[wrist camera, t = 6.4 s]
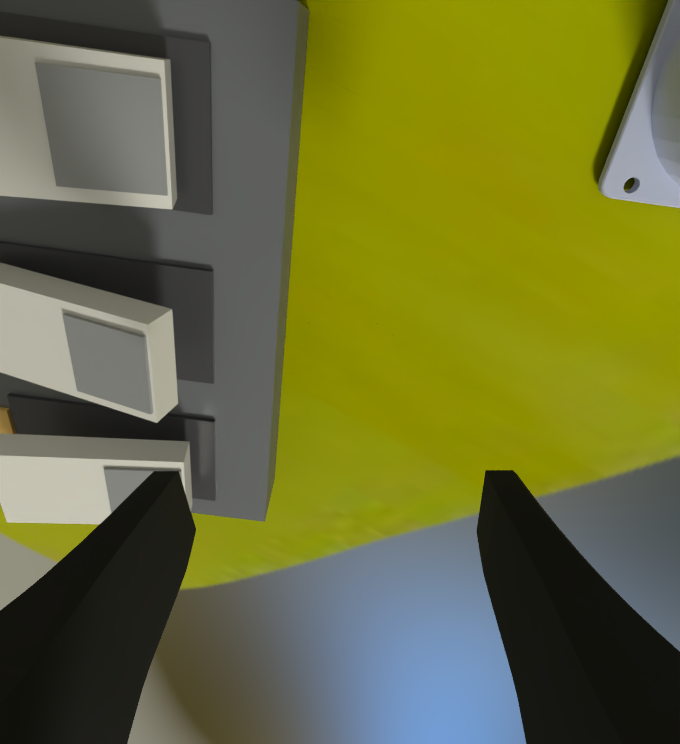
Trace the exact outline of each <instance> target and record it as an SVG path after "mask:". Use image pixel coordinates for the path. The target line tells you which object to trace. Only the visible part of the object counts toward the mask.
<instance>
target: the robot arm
mask: <svg viewBox="0 0 680 744" xmlns="http://www.w3.org/2000/svg"><path fill="white" fill-rule="evenodd" d="M633 177H634V179H635V182H634V185H633V186H632V188H631V189H629V190H628V191H624V189H623V188H624V184H625V182H626V181H627V180H628V179H630V178H633ZM598 188H599V191H600V192H601V193H602V194H603V195H605V196H607V197H609V198H613V199H620V200H627V201H634V202H641V203H648V204H655V205H662V206H669V207H676V208H680V0H668V3H667V5H666V8H665V10H664V13H663V15H662V18H661V21H660V23H659V26H658V28H657V31H656V34H655V36H654V39H653V41H652V44H651V46H650V49H649V52H648V54H647V57H646V59H645V62H644V65H643V67H642V70H641V72H640V75H639V78H638V80H637V83H636V85H635V88H634V90H633V93H632V96H631V98H630V101H629V103H628V106H627V109H626V111H625V114H624V116H623V119H622V121H621V124H620V127H619V129H618V132H617V134H616V137H615V140H614V142H613V145H612V147H611V150H610V153H609V155H608V158H607V160H606V163H605V165H604V168H603V171H602V173H601V176H600V178H599V183H598ZM195 532H196V528H195V524H194V521H193V518H192V514H191V511H190V508H189V504H188V501H187V497H186V494H185V491H184V487H183V484H182V480H181V477H180V474H179V471H154V472H153V473H152V474H150V475H149V476H148V477H147V478H146V479H145V480H144V481H143V482H142V483H141V484H140V485H139V486H138V487H137V488H136V489H135V490H134V491H133V492H132V493H131V494H130V495H129V496H128V497H127V498H126V499H125V500H124V501H123V502H122V503H121V504H120V505H119V506H118V507H117V508H116V509H115V510H114V511H113V512H112V513H111V514H110V515H109V516H108V517H107V518H106V519H105V520H104V521H103V522H102V523H101V524H100V525H99V526H98V527H97V528H96V529H94V530H93V531H92V532H91V533H90V534H89V535H88V536H87V537H86V538H85V539H84V540H83V541H82V542H81V543H80V544H79V545H78V546H76V547H75V548H74V549H73V550H72V551H71V552H70V553H69V554H68V555H66V556H65V557H64V558H63V559H62V560H61V561H60V562H59V563H57V564H56V565H55V566H54V567H53V568H52V569H51V570H50V571H48V572H47V573H46V574H45V575H44V576H43V577H42V578H40V579H39V580H38V581H37V582H36V583H35V584H33V585H32V586H31V587H30V588H28V589H27V590H26V591H25V592H24V593H22V594H21V595H20V596H19V597H17V598H16V599H15V600H13V601H12V602H11V603H10V604H8V605H7V606H6V607H4V608H3V609H2V610H1V611H0V744H127V742H128V738H129V734H130V731H131V727H132V724H133V720H134V716H135V713H136V709H137V706H138V702H139V699H140V695H141V691H142V688H143V685H144V682H145V679H146V676H147V673H148V670H149V667H150V665H151V662H152V659H153V657H154V654H155V651H156V649H157V646H158V644H159V641H160V639H161V636H162V633H163V630H164V628H165V625H166V623H167V620H168V617H169V615H170V612H171V610H172V607H173V604H174V602H175V599H176V597H177V594H178V591H179V589H180V586H181V583H182V580H183V578H184V575H185V572H186V569H187V565H188V561H189V557H190V553H191V549H192V545H193V541H194V536H195ZM477 537H478V543H479V549H480V556H481V562H482V567H483V573H484V577H485V581H486V585H487V588H488V592H489V595H490V598H491V602H492V606H493V610H494V613H495V616H496V620H497V623H498V627H499V631H500V634H501V638H502V641H503V644H504V648H505V651H506V655H507V658H508V662H509V666H510V669H511V673H512V677H513V681H514V685H515V689H516V693H517V697H518V702H519V707H520V712H521V718H522V723H523V728H524V733H525V738H526V743H527V744H680V652H679V651H678V650H677V649H676V648H675V647H674V646H673V645H672V644H670V643H669V642H668V641H667V640H666V639H665V638H664V637H663V636H662V635H660V634H659V633H658V632H657V631H656V630H655V629H654V628H653V627H652V626H651V625H650V624H649V623H647V622H646V621H645V620H644V619H643V618H642V617H641V616H640V615H639V614H638V613H637V612H636V611H635V610H633V608H632V607H630V605H628V603H627V602H626V601H625V600H623V598H622V597H621V596H620V595H619V594H618V593H617V592H616V591H615V590H613V588H612V587H611V586H610V585H609V584H608V583H607V582H606V581H605V580H604V579H603V578H602V577H601V576H600V575H599V573H598V572H597V571H596V570H595V569H594V568H593V567H592V566H591V565H590V564H589V563H588V562H587V560H586V559H585V558H584V557H583V556H582V555H581V554H580V553H579V551H578V550H577V549H576V548H575V547H574V546H573V545H572V543H571V542H570V541H569V540H568V539H567V538H566V536H565V535H564V534H563V533H562V532H561V530H559V528H558V527H557V526H556V524H555V523H554V522H553V521H552V519H551V518H550V517H549V516H548V514H547V513H546V512H545V511H544V509H543V508H542V507H541V506H540V505H539V503H538V502H537V500H536V499H535V498H534V496H533V495H532V494H531V493H530V491H529V490H528V489H527V487H526V486H525V485H524V483H523V482H522V481H521V479H520V478H519V476H518V475H517V474H516V473H515V472H514V471H513V470H486V472H485V478H484V485H483V492H482V499H481V505H480V512H479V519H478V526H477Z"/></svg>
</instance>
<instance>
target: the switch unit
mask: <svg viewBox="0 0 680 744" xmlns="http://www.w3.org/2000/svg"><path fill="white" fill-rule="evenodd" d="M308 21H309V10H308V9H307V8H306V7H304V6H303V5H302V4H301V3H300V2H299V1H296V0H0V36H7V37H14V38H21V39H28V40H35V41H43V42H50V43H57V44H64V45H71V46H78V47H86V48H93V49H100V50H107V51H114V52H121V53H128V54H136V55H143V56H150V57H157V58H164V59H170V64H171V84H172V104H173V124H174V144H175V164H176V184H177V200H176V203H175V205H174V207H173V209H160V208H148V207H135V206H123V205H110V204H98V203H86V202H73V201H61V200H48V199H36V198H24V197H11V196H0V263H4V264H8V265H11V266H15V267H19V268H22V269H26V270H30V271H33V272H37V273H41V274H45V275H48V276H52V277H56V278H59V279H63V280H67V281H70V282H74V283H78V284H82V285H85V286H89V287H93V288H96V289H100V290H104V291H107V292H111V293H115V294H118V295H122V296H126V297H130V298H133V299H137V300H141V301H144V302H148V303H152V304H155V305H159V306H163V307H166V308H170V309H172V313H173V329H174V345H175V361H176V377H177V393H178V404H177V405H176V406H175V407H174V408H173V409H172V410H171V411H169V412H168V413H167V414H166V415H165V416H164V417H163V418H162V419H161V420H160V421H159V422H158V423H155V422H152V421H149V420H146V419H143V418H140V417H137V416H134V415H131V414H128V413H125V412H121V411H118V410H115V409H112V408H109V407H106V406H103V405H100V404H97V403H94V402H91V401H88V400H84V399H81V398H78V397H75V396H72V395H69V394H66V393H63V392H60V391H57V390H54V389H50V388H47V387H44V386H41V385H38V384H35V383H32V382H29V381H26V380H23V379H20V378H16V377H13V376H10V375H7V374H4V373H1V372H0V433H4V434H27V435H50V436H74V437H97V438H120V439H143V440H167V441H189V445H190V465H191V485H192V508H191V513H199V514H207V515H216V516H224V517H232V518H240V519H248V520H256V521H265V519H266V514H267V510H268V506H269V501H270V497H271V492H272V488H273V483H274V477H275V464H276V450H277V437H278V423H279V410H280V396H281V383H282V370H283V356H284V343H285V329H286V316H287V303H288V289H289V276H290V262H291V249H292V236H293V222H294V209H295V195H296V182H297V168H298V155H299V142H300V128H301V115H302V101H303V88H304V75H305V61H306V48H307V34H308Z"/></svg>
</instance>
